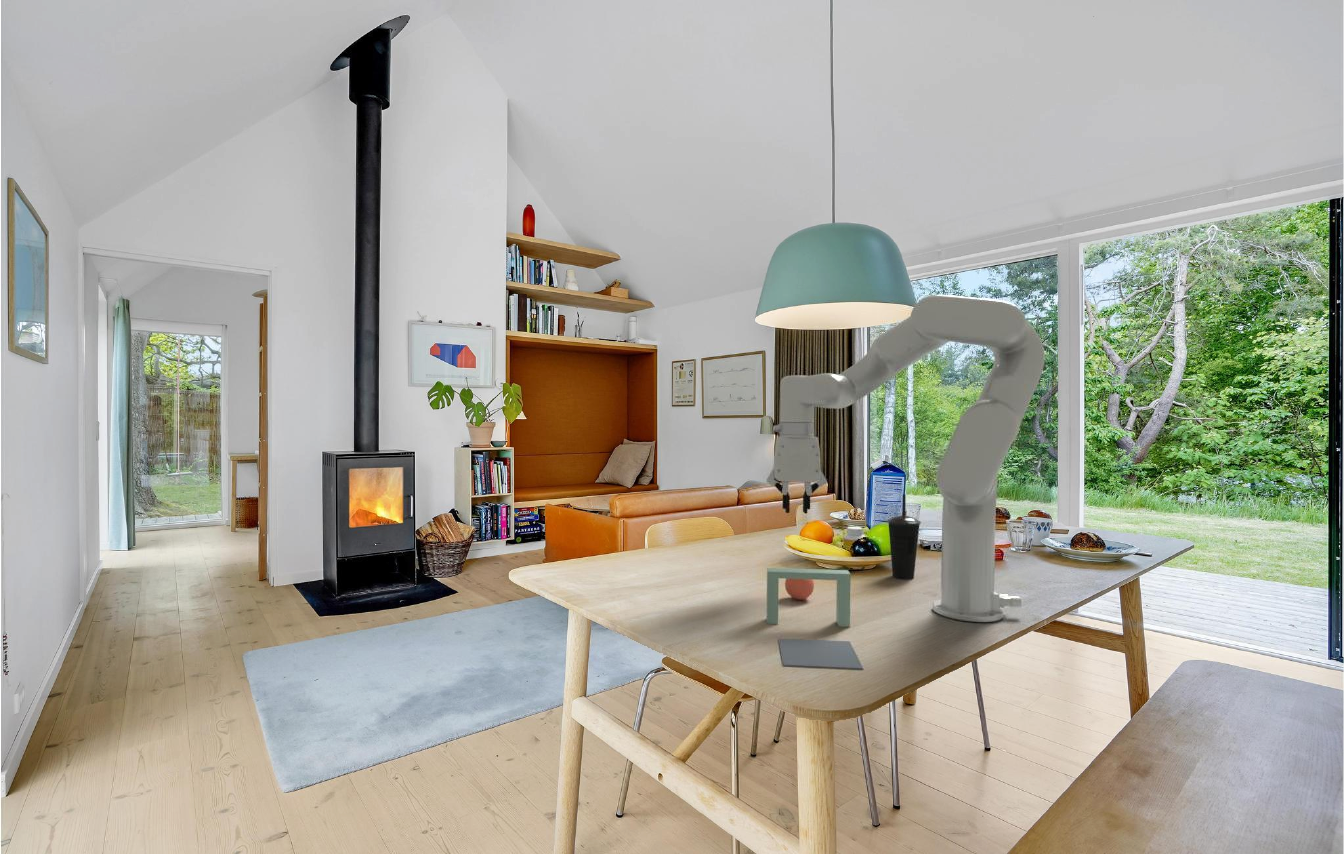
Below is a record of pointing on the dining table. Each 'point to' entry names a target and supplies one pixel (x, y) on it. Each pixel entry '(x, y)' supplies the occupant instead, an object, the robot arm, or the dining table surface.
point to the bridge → (817, 574)
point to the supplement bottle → (852, 537)
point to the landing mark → (818, 654)
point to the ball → (799, 588)
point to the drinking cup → (903, 544)
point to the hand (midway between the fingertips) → (796, 511)
